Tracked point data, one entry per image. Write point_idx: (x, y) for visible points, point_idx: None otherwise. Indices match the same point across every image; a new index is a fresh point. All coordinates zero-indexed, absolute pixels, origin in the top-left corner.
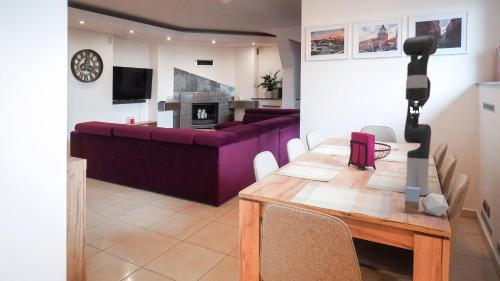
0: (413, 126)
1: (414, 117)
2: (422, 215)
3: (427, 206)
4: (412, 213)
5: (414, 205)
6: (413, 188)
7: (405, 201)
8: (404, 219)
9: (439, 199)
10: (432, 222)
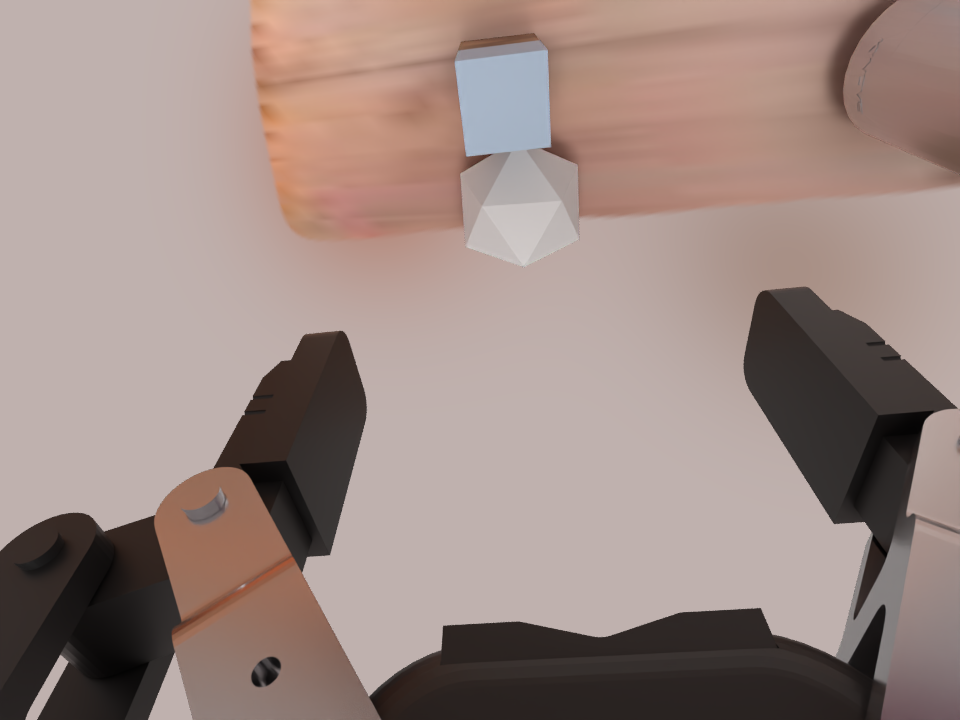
0: (278, 373)
1: (154, 537)
2: None
3: (466, 175)
4: None
5: None
6: (485, 115)
7: None
8: (319, 63)
9: (487, 242)
10: (363, 190)
